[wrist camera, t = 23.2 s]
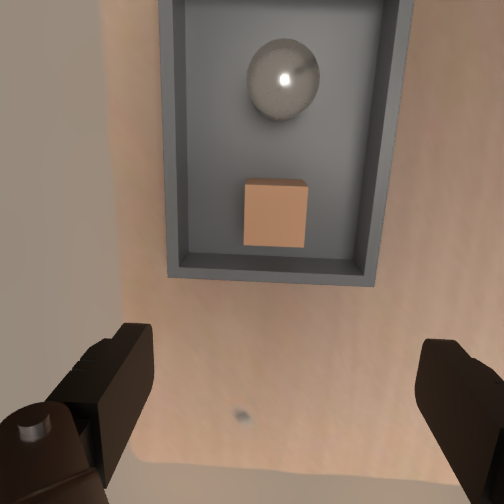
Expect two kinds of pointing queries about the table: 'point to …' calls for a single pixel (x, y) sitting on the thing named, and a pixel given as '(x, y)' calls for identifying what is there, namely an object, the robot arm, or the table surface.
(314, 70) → the cylinder
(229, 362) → the table surface
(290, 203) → the cube
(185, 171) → the tote
